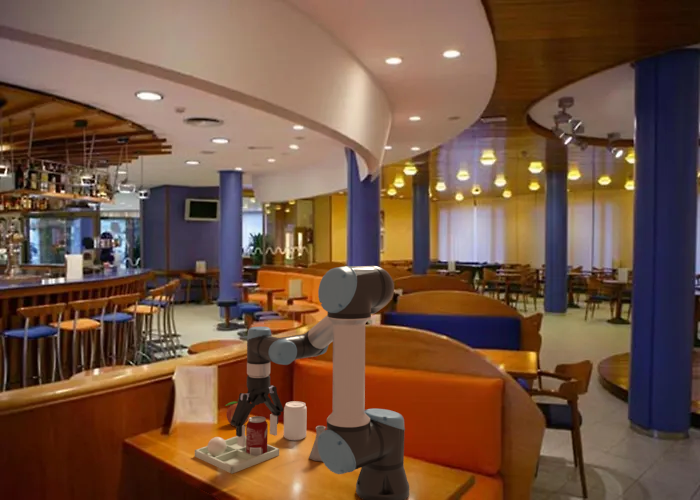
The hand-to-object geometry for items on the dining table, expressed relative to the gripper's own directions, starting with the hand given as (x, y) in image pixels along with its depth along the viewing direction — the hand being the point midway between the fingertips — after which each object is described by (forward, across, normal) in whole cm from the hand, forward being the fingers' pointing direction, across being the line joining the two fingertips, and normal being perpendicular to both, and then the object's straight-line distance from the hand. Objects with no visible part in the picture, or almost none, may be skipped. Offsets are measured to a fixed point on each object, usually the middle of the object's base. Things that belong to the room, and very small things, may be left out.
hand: (257, 440), depth 180 cm
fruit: (+6, -15, -30) cm, 34 cm away
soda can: (+5, 0, 0) cm, 5 cm away
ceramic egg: (+5, +9, -9) cm, 14 cm away
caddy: (+6, +5, -5) cm, 9 cm away
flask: (+6, -14, +14) cm, 21 cm away
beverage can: (+6, -21, -5) cm, 23 cm away
